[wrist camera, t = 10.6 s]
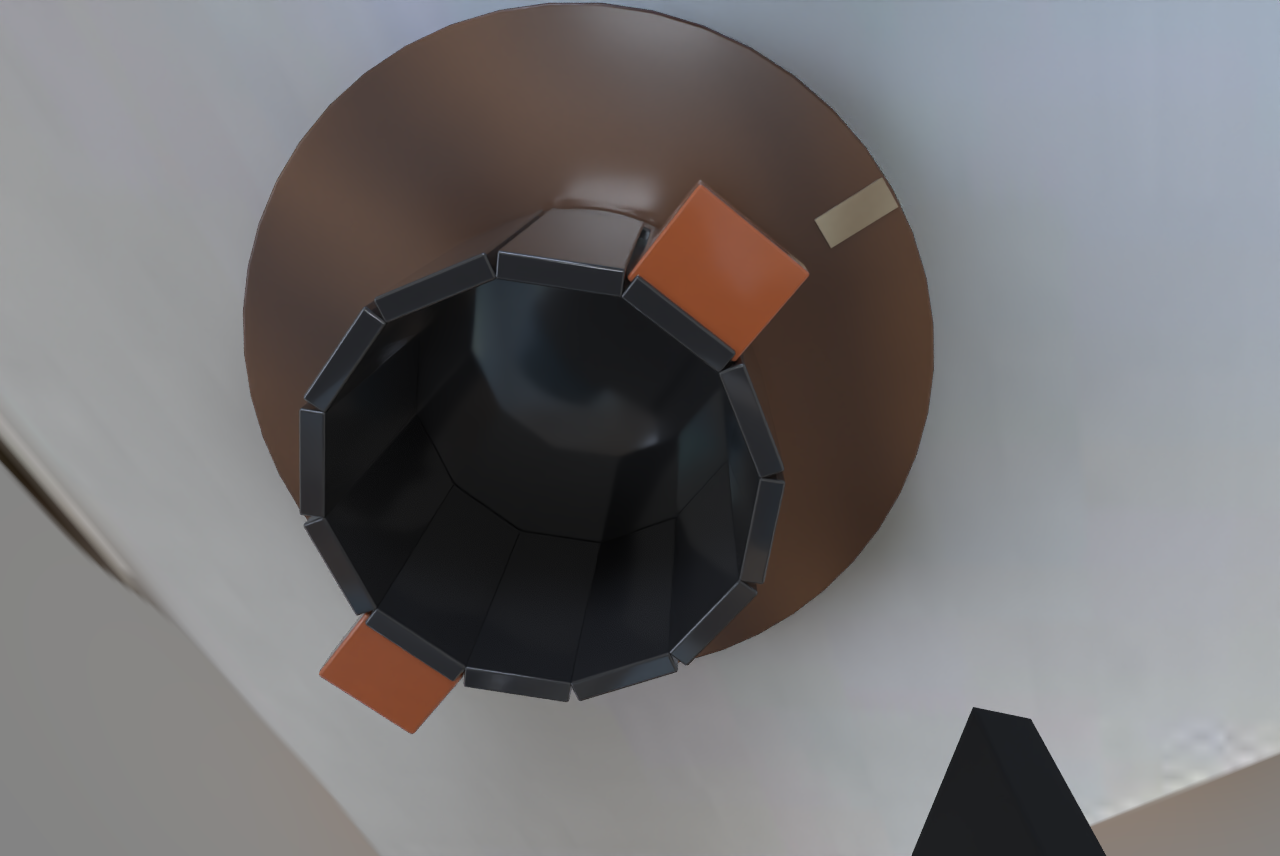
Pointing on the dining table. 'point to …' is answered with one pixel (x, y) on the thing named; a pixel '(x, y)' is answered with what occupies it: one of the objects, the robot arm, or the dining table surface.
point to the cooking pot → (549, 457)
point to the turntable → (628, 185)
